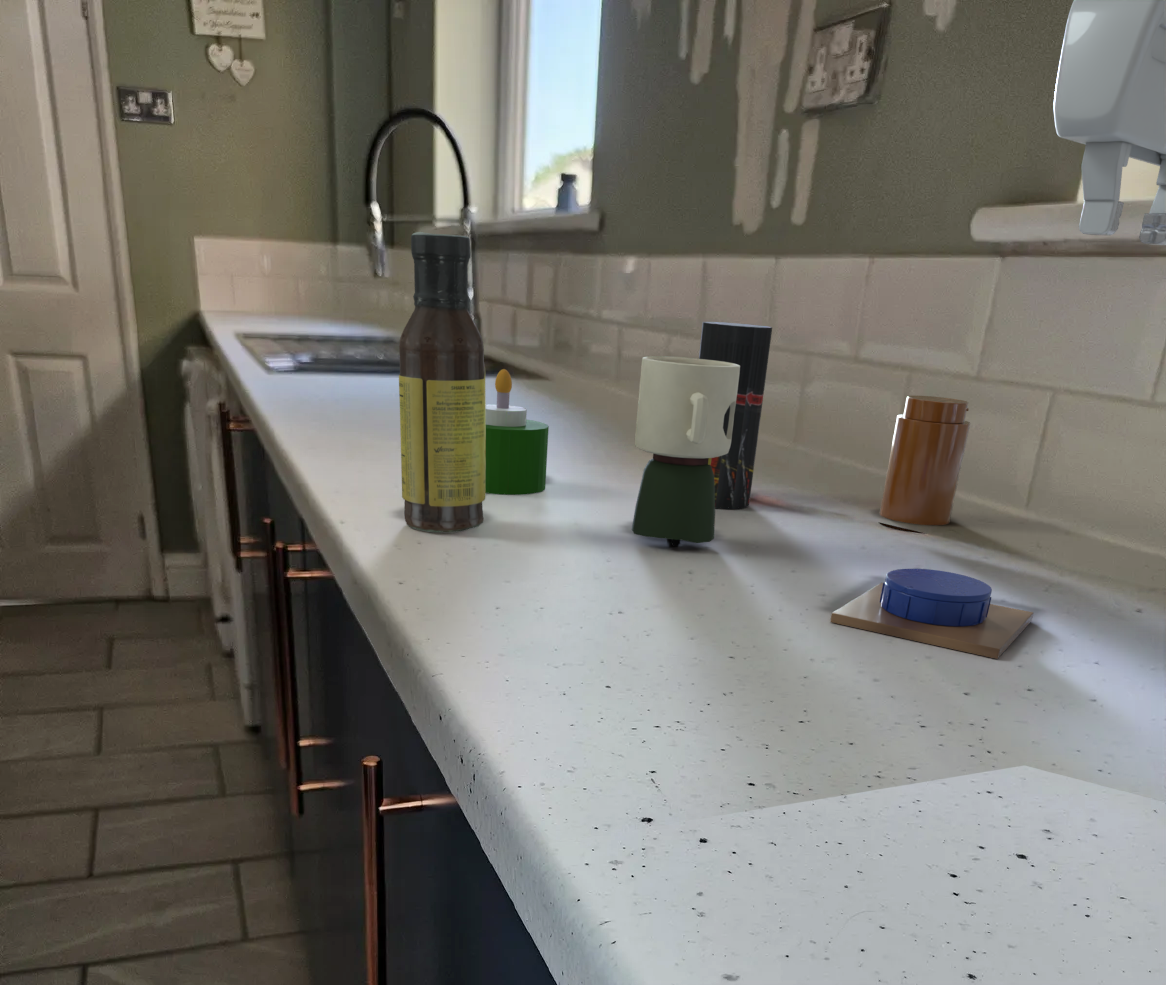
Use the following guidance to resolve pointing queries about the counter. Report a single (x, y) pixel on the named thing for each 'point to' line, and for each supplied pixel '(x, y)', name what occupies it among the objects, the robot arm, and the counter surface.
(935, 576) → the jar lid
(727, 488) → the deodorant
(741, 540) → the counter surface
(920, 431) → the jar
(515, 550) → the counter surface
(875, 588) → the coaster
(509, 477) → the candle
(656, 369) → the character mug
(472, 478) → the sauce bottle
